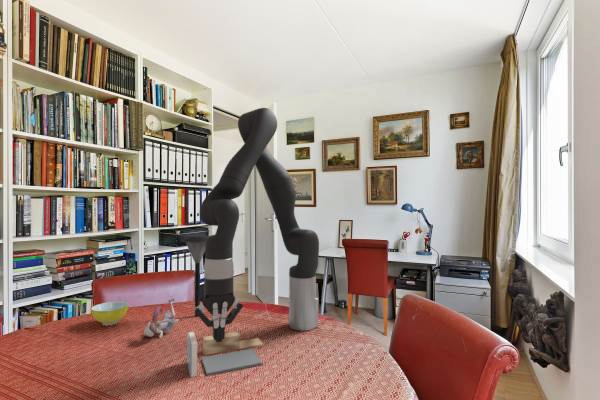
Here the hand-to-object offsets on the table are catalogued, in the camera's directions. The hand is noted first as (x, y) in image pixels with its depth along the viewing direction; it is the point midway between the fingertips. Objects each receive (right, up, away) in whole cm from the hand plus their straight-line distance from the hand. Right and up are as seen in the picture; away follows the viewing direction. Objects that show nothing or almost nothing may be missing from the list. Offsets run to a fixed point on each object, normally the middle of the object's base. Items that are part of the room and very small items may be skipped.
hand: (218, 340), depth 88 cm
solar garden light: (-17, -7, +37) cm, 41 cm away
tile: (-6, -6, -3) cm, 9 cm away
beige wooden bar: (+2, -6, +10) cm, 12 cm away
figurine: (-23, -7, +20) cm, 31 cm away
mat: (+3, -6, +1) cm, 7 cm away
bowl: (-45, -7, +29) cm, 54 cm away
